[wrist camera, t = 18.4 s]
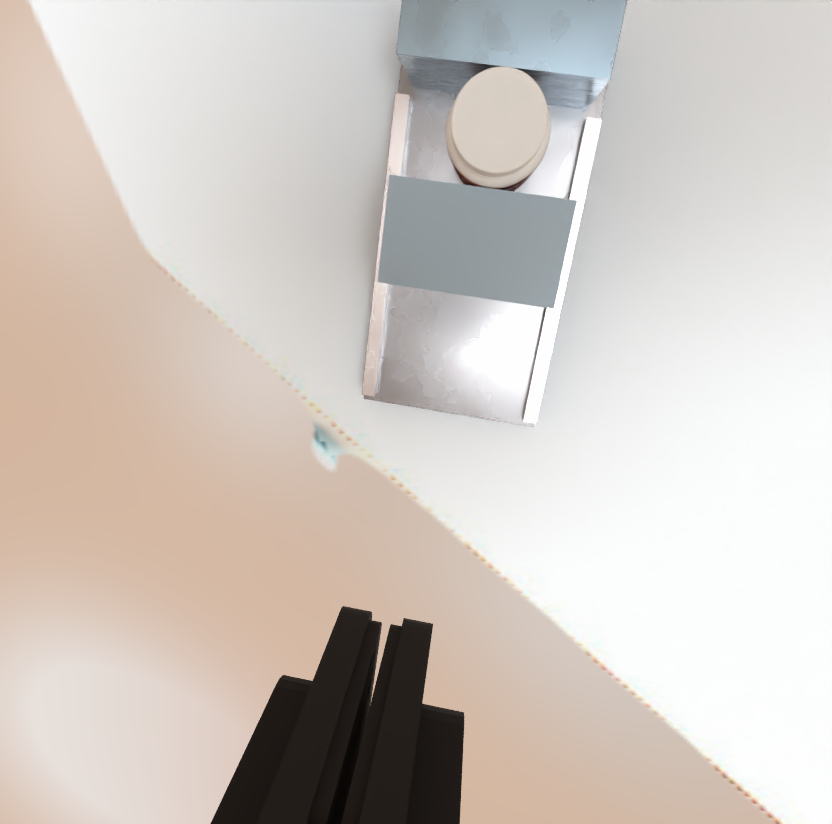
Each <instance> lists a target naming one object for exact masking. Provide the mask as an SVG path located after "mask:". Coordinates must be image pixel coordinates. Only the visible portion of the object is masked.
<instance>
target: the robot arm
mask: <svg viewBox="0 0 832 824" xmlns="http://www.w3.org/2000/svg"><path fill="white" fill-rule="evenodd" d="M381 626H382V623H381V622H377V621H372V612H370V611H364V610H359V609H355V608H350V607H344V606H343V607H342V608H341V610H340V613H339V616H338V618H337V621H336V623H335V626H334V628H333V631H332V633H331V636H330V638H329V641H328V644H327V646H326V649H325V651H324V654H323V656H322V659H321V661H320V664H319V666H318V669H317V671H316V674H315V677H314V679H313V681H309V680H305V679H300V678H295V677H290V676H285V675H283V676H282V677H281V678H280V679H279V681H278V682H277V684H276V686H275V688H274V690H273V692H272V695H271V697H270V699H269V701H268V703H267V705H266V707H265V709H264V712H263V714H262V716H261V718H260V720H259V722H258V724H257V726H256V729H255V731H254V733H253V735H252V737H251V739H250V741H249V743H248V745H247V748H246V750H245V752H244V754H243V756H242V758H241V760H240V762H239V765H238V767H237V769H236V771H235V773H234V775H233V777H232V780H231V782H230V784H229V786H228V788H227V790H226V792H225V794H224V796H223V799H222V801H221V803H220V805H219V807H218V809H217V811H216V813H215V816H214V818H213V820H212V822H211V824H460V802H461V780H462V759H463V737H464V736H463V735H464V713H463V712H459V711H454V710H449V709H445V708H439V707H435V706H430V705H425V704H422V700H423V693H424V684H425V678H426V670H427V664H428V657H429V649H430V642H431V634H432V627H433V624H431V623H426V622H421V621H416V620H410V619H406V618H404V620H403V624H402V626H397V625H392V624H391V625H390V629H389V633H388V637H387V641H386V645H385V649H384V653H383V657H382V661H381V665H380V669H379V673H378V677H377V681H376V685H375V689H374V693H373V697H372V689H373V683H374V676H375V669H376V662H377V655H378V647H379V640H380V633H381ZM371 697H372V701H371ZM370 704H371V705H370Z"/></svg>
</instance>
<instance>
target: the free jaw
mask: <svg viewBox="0 0 832 824" xmlns="http://www.w3.org/2000/svg"><path fill="white" fill-rule="evenodd" d="M576 204H577V200H571V199H564V198H557V197H550V196H542V195H535V194H528V193H521V192H513V191H506V190H499V189H491V188H484V187H477V186H470V185H462V184H455V183H448V182H441V181H433V180H426V179H419V178H411V177H404V176H397V175H390V174H389V183H388V191H387V200H386V209H385V218H384V227H383V236H382V245H381V254H380V262H379V271H378V280H377V282H380V283H386V284H393V285H399V286H406V287H413V288H419V289H426V290H432V291H439V292H445V293H452V294H459V295H465V296H472V297H478V298H485V299H491V300H498V301H505V302H511V303H518V304H524V305H531V306H537V307H544V308H551V309H554V307H555V302H556V297H557V293H558V288H559V283H560V279H561V274H562V269H563V265H564V260H565V255H566V251H567V246H568V241H569V236H570V232H571V227H572V222H573V218H574V213H575V208H576Z"/></svg>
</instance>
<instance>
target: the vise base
mask: <svg viewBox="0 0 832 824" xmlns="http://www.w3.org/2000/svg"><path fill="white" fill-rule="evenodd" d="M626 4H627V0H402V6H401V15H400V24H399V33H398V42H397V52H396V54H397V56H398V58H399V60H400V62H401V71H400V80H399V89H398V93H395V101H394V110H393V119H392V128H391V137H390V146H389V155H388V164H387V173H386V182H385V191H384V200H383V209H382V218H381V227H380V236H379V245H378V254H377V263H376V272H375V281H374V290H373V299H372V308H371V317H370V326H369V335H368V344H367V353H366V362H365V371H364V380H363V389H362V395H364V399H369V400H375V401H381V402H387V403H393V404H399V405H405V406H411V407H417V408H423V409H429V410H435V411H440V412H446V413H452V414H458V415H464V416H470V417H476V418H482V419H488V420H494V421H500V422H506V423H512V424H518V425H524V426H530V427H534V423H535V424H536V422H537V417H538V413H539V408H540V404H541V399H542V394H543V390H544V385H545V381H546V376H547V371H548V367H549V362H550V358H551V353H552V348H553V344H554V339H555V335H556V330H557V325H558V321H559V316H560V311H561V307H562V302H563V298H564V293H565V288H566V284H567V279H568V275H569V270H570V265H571V261H572V256H573V252H574V247H575V242H576V238H577V233H578V229H579V224H580V219H581V215H582V210H583V206H584V201H585V196H586V192H587V187H588V183H589V178H590V173H591V169H592V164H593V159H594V155H595V150H596V146H597V141H598V136H599V132H600V127H601V123H602V119H600V117H601V112H602V107H603V103H604V98H605V93H606V89H607V84H608V81H609V80H610V78H611V73H612V69H613V64H614V60H615V55H616V50H617V46H618V41H619V36H620V32H621V27H622V23H623V18H624V13H625V9H626ZM500 66H506V67H512V68H516V69H518V70H521V71H523V72H525V73H526V74H528V75H529V76H530V77H531V78H533V79H534V81H535V82H536V83H537V84H538V85H539V87H540V88H541V90H542V92H543V94H544V97H545V100H546V103H547V106H548V109H549V113H550V120H551V133H550V138H549V143H548V147H547V150H546V153H545V155H544V157H543V159H542V161H541V162H540V164H539V165H538V167H537V168H536V169H535V170H534V171H533V172H532V174H531V175H530V176H529V177H528V179H527V180H526V181H525V182H524V183H523V184H522V185H521V186H520V187H519V188H517V189H516V190H514V191H513V192H521V193H528V194H535V195H542V196H550V197H557V198H564V199H571V200H577V204H576V208H575V213H574V218H573V222H572V227H571V232H570V236H569V241H568V246H567V251H566V255H565V260H564V265H563V269H562V274H561V279H560V283H559V288H558V293H557V297H556V302H555V307H554V309H551V308H544V307H537V306H531V305H524V304H518V303H511V302H505V301H498V300H491V299H485V298H478V297H472V296H465V295H459V294H452V293H445V292H439V291H432V290H426V289H419V288H413V287H406V286H399V285H393V284H386V283H380V282H377V280H378V271H379V262H380V254H381V245H382V236H383V227H384V218H385V209H386V200H387V191H388V183H389V174H390V175H397V176H404V177H411V178H419V179H426V180H433V181H441V182H448V183H455V184H462V185H465V184H464V183H463V182H462V181H461V180H460V178H459V176H458V175H457V173H456V171H455V168H454V166H453V163H452V161H451V159H450V156H449V153H448V150H447V145H446V124H447V119H448V116H449V112H450V110H451V107H452V105H453V103H454V101H455V100H456V97H457V95H458V94H459V92H460V91H461V89H462V88H463V86H464V85H465V84H466V83H467V82H468V81H469V80H470V79H471V78H472V77H474V76H475V75H477V74H478V73H480V72H482V71H484V70H486V69H489V68H493V67H500Z"/></svg>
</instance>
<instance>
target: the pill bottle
mask: <svg viewBox="0 0 832 824" xmlns="http://www.w3.org/2000/svg"><path fill="white" fill-rule="evenodd" d="M550 133H551V120H550V113H549V109H548V106H547V103H546V100H545V97H544V94H543V92H542V90H541V88H540V87H539V85H538V84H537V83H536V82H535V81H534V79H533V78H531V77H530V76H529V75H528V74H526V73H525V72H523V71H521V70H518V69H516V68H512V67H506V66H500V67H493V68H489V69H486V70H484V71H482V72H480V73H478V74H477V75H475V76H474V77H472V78H471V79H470V80H469V81H468V82H467V83H466V84H465V85H464V86H463V88H462V89H461V91H460V92H459V94H458V95H457V97H456V100H455V101H454V103H453V105H452V107H451V110H450V112H449V116H448V119H447V124H446V145H447V150H448V153H449V156H450V159H451V161H452V163H453V166H454V168H455V171H456V173H457V175H458V176H459V178H460V180H461V181H462V182H463V183H464V184H465V185H470V186H477V187H484V188H491V189H499V190H506V191H514V190H516V189H517V188H519V187H520V186H521V185H522V184H523V183H524V182H525V181H526V180H527V179H528V177H529V176H530V175H531V174H532V172H533V171H534V170H535V169H536V168H537V167H538V165H539V164H540V162H541V161H542V159H543V157H544V155H545V153H546V150H547V147H548V143H549V138H550Z"/></svg>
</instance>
